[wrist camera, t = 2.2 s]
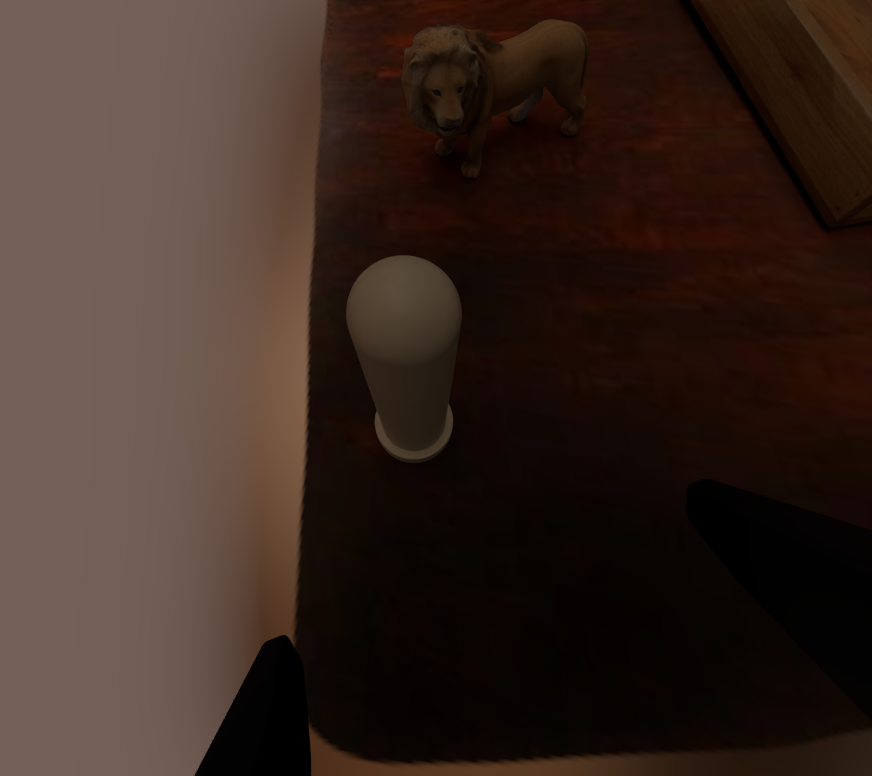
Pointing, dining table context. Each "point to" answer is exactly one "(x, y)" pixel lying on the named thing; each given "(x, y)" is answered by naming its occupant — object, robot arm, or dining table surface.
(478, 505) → the dining table surface
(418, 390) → the beige rounded cylinder
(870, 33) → the tray
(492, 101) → the lion figurine
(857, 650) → the robot arm
